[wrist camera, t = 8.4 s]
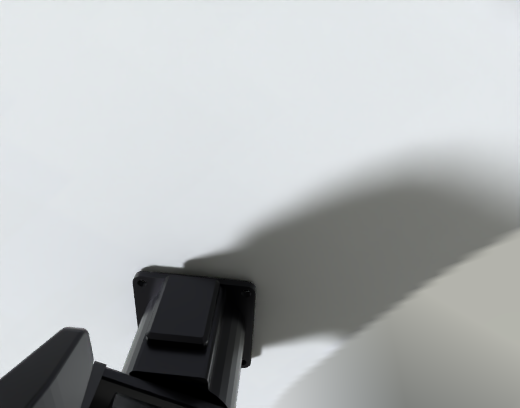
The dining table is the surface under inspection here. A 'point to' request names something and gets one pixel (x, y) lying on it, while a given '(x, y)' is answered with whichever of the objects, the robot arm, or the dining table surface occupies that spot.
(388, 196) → the dining table surface
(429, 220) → the dining table surface
